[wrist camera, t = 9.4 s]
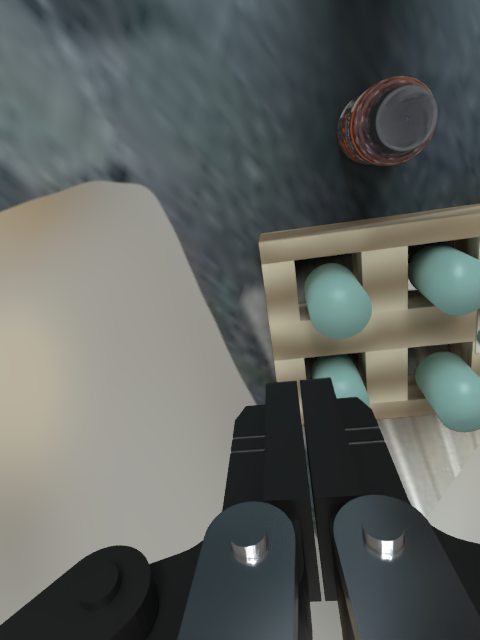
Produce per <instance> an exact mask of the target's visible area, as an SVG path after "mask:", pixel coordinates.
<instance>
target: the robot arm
mask: <svg viewBox="0 0 480 640" xmlns="http://www.w3.org/2000/svg"><path fill="white" fill-rule="evenodd" d="M300 390H301V399H302V408H303V418H304V427H305V436H306V445H307V454H308V462H309V470H310V479H311V487H312V495H313V503H314V511H315V520H316V528H317V536H318V544H319V552H320V561H321V568H322V577H323V585H324V593H325V600H326V601H338V606H339V613H340V620H341V627H342V635H343V640H480V544H477V543H473V542H468V541H465V540H461V539H457V538H455V537H452V536H450V535H447V534H445V533H443V532H441V531H440V530H438V529H436V528H435V527H433V526H431V525H430V523H429V522H428V520H427V519H426V518H425V517H424V516H423V515H422V514H421V513H420V512H419V511H418V510H417V509H416V508H414V507H412V505H411V504H410V502H409V500H408V498H407V495H406V493H405V490H404V488H403V485H402V483H401V480H400V478H399V475H398V473H397V470H396V468H395V465H394V463H393V460H392V458H391V455H390V453H389V450H388V448H387V446H386V443H384V438H383V436H382V433H381V431H380V429H379V427H378V423H377V421H376V418H375V416H374V413H373V411H372V409H371V408H370V407H369V406H367V405H366V404H365V403H364V402H363V401H361V400H360V399H359V398H358V397H348V398H336V395H335V391H334V387H333V384H332V380H331V378H330V377H328V378H317V379H306V380H300ZM312 601H321V592H320V583H319V574H318V566H317V556H316V548H315V538H314V529H313V520H312V511H311V502H310V493H309V484H308V476H307V467H306V458H305V449H304V440H303V431H302V423H301V414H300V405H299V396H298V387H297V380H296V381H285V382H274V383H266V405H255V406H246V407H245V408H244V409H243V411H242V412H241V414H240V415H239V416H238V417H237V419H236V420H235V425H234V433H233V440H232V447H231V454H230V461H229V468H228V475H227V482H226V489H225V496H224V503H223V510H222V512H221V513H220V514H219V515H218V516H217V517H216V518H215V519H214V520H213V521H212V523H211V524H210V526H209V527H208V529H207V531H206V534H205V536H204V540H203V541H202V542H200V543H199V544H198V545H196V546H194V547H193V548H191V549H189V550H187V551H184V552H182V553H180V554H177V555H174V556H171V557H168V558H165V559H163V560H160V561H157V562H154V563H151V564H148V561H147V559H146V557H145V556H144V555H143V554H142V553H141V552H140V551H138V550H137V549H135V548H132V547H129V546H111V547H107V548H103V549H100V550H98V551H96V552H93V553H92V554H90V555H88V556H86V557H85V558H84V559H82V560H81V561H79V562H78V563H77V564H76V565H74V566H73V567H72V568H71V569H69V570H68V571H67V572H66V573H64V574H63V575H62V576H61V577H59V578H58V579H57V580H56V581H54V582H53V583H52V584H51V585H50V586H48V587H47V588H46V589H45V590H43V591H42V592H41V593H40V594H38V595H37V596H36V597H35V598H34V599H32V600H31V601H30V602H29V603H27V604H26V605H25V606H24V607H22V608H21V609H20V610H19V611H17V612H16V613H15V614H14V615H13V616H11V617H10V618H9V619H8V620H6V621H5V622H4V623H3V624H2V625H0V640H312V623H311V610H310V602H312Z"/></svg>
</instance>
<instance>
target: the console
mask: <svg viewBox="0 0 480 640" xmlns="http://www.w3.org/2000/svg"><path fill="white" fill-rule="evenodd" d="M450 240H455V249H457V250H459V251H461V252H463V253H465V254H467V255H469V256H471V257H474V258H476V259H478V260H480V204H473V205H466V206H458V207H451V208H444V209H437V210H429V211H422V212H415V213H407V214H400V215H393V216H386V217H378V218H371V219H364V220H357V221H349V222H342V223H335V224H328V225H320V226H313V227H306V228H298V229H291V230H284V231H277V232H269V233H262V234H260V238H259V249H260V257H261V265H262V272H263V280H264V287H265V295H266V303H267V310H268V318H269V325H270V333H271V341H272V348H273V356H274V363H275V371H276V379H277V382H285V381H296V380H297V387H298V396H299V405H300V414H301V423H302V425H304V418H303V408H302V399H301V390H300V380H306V372H305V362H304V358H309V357H319V356H329V355H339V354H350V353H357V369H358V372H359V374H360V377H361V379H362V381H363V384H364V386H365V389H366V391H367V394H368V396H369V401H370V404H369V407H370V408H371V409H372V411H373V413H374V416H375V418H376V419H386V418H399V417H412V416H424V415H437V414H436V413H435V411H434V410H433V408H432V406H431V405H430V403H429V402H428V400H427V399H426V397H425V396H424V394H423V393H422V391H421V390H420V388H419V386H418V385H417V383H416V380H415V374H412V375H408V348H411V347H421V346H431V345H441V344H450V352H452V353H454V354H457V355H458V356H460V357H461V358H462V359H463V360H464V361H465V362H466V363H467V364H468V366H469V367H470V368H471V369H472V370H473V371H474V372H475V373H476V374H477V375H478V376H479V377H480V308H479V309H478V310H476V311H474V312H472V313H469V314H466V315H459V316H456V315H449V314H446V313H444V312H442V311H441V310H439V309H438V308H437V307H436V306H435V305H434V304H433V303H432V302H430V301H429V300H428V299H427V298H426V297H425V296H424V295H423V294H421V293H420V292H419V291H418V290H415V291H408V246H411V245H419V244H426V243H434V242H442V241H450ZM348 253H352V268H353V275H354V276H355V278H356V279H357V280H358V282H359V283H360V284H361V286H362V287H363V289H364V290H365V291H366V293H367V294H368V296H369V298H370V300H371V304H372V314H371V317H370V320H369V322H368V324H367V325H366V327H365V328H364V329H363V330H362V331H361V332H359V333H358V334H356V335H355V336H352V337H350V338H346V339H331V338H328V337H326V336H323V335H322V334H320V333H319V332H318V331H317V330H316V329H315V328H314V326H313V324H312V322H311V319H310V315H309V311H308V307H307V303H301V304H299V303H298V293H297V284H296V274H295V264H294V260H301V259H309V258H317V257H325V256H333V255H341V254H348Z"/></svg>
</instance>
